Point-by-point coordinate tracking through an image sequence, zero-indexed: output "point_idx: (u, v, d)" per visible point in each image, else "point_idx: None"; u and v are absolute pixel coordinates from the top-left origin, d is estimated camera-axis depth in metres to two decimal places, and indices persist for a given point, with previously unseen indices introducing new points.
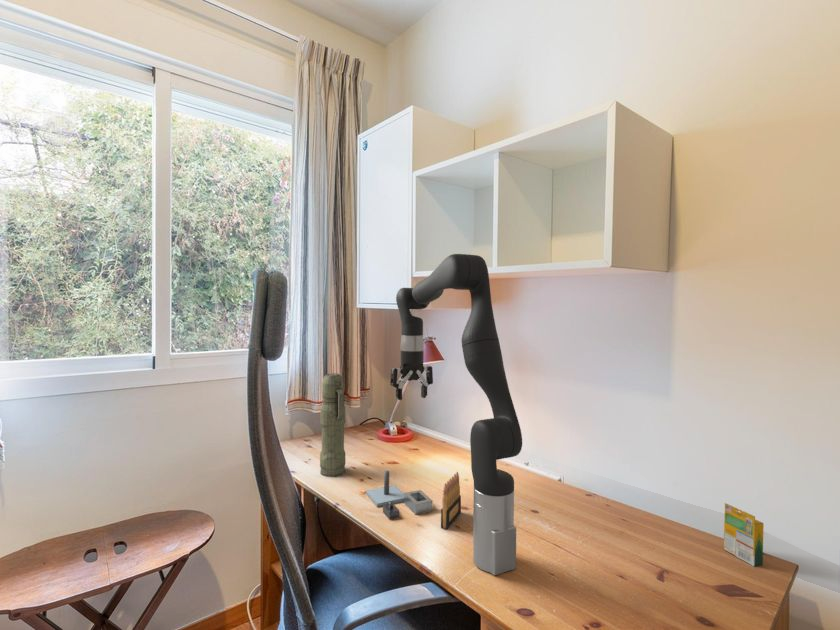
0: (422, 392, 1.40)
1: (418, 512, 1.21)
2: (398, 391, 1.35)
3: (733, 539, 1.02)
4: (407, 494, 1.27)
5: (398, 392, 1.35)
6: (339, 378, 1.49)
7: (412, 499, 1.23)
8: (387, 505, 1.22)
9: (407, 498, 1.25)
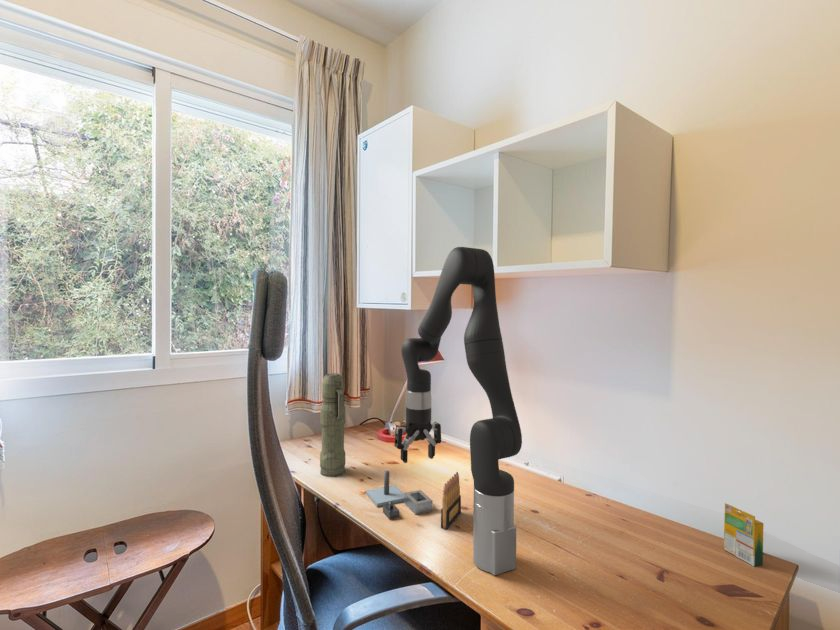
0: (429, 452, 1.27)
1: (418, 512, 1.21)
2: (403, 453, 1.22)
3: (733, 539, 1.02)
4: (407, 494, 1.27)
5: (403, 454, 1.22)
6: (339, 378, 1.49)
7: (412, 499, 1.23)
8: (387, 505, 1.22)
9: (407, 498, 1.25)
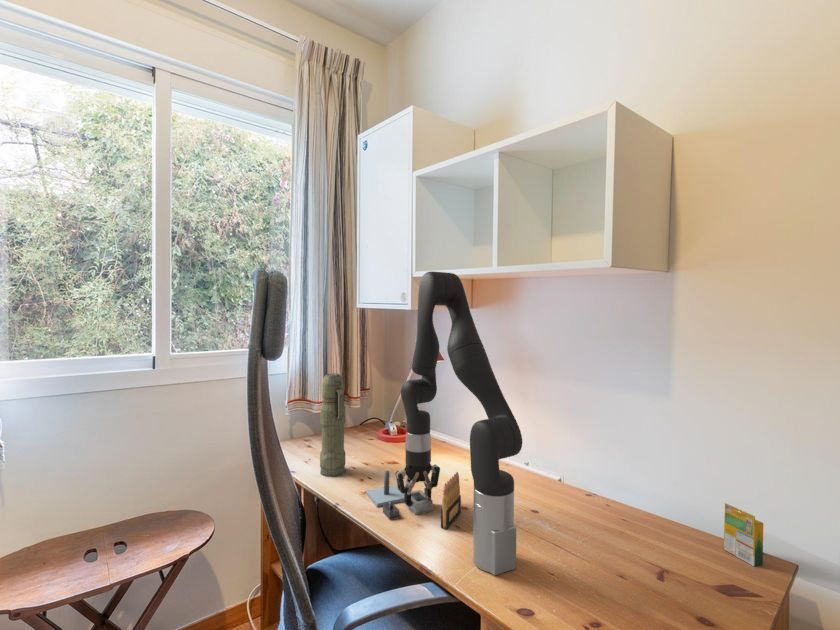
0: None
1: (418, 512, 1.21)
2: (407, 497, 1.23)
3: (733, 539, 1.02)
4: None
5: (407, 498, 1.23)
6: (339, 378, 1.49)
7: (412, 499, 1.23)
8: (387, 505, 1.22)
9: None
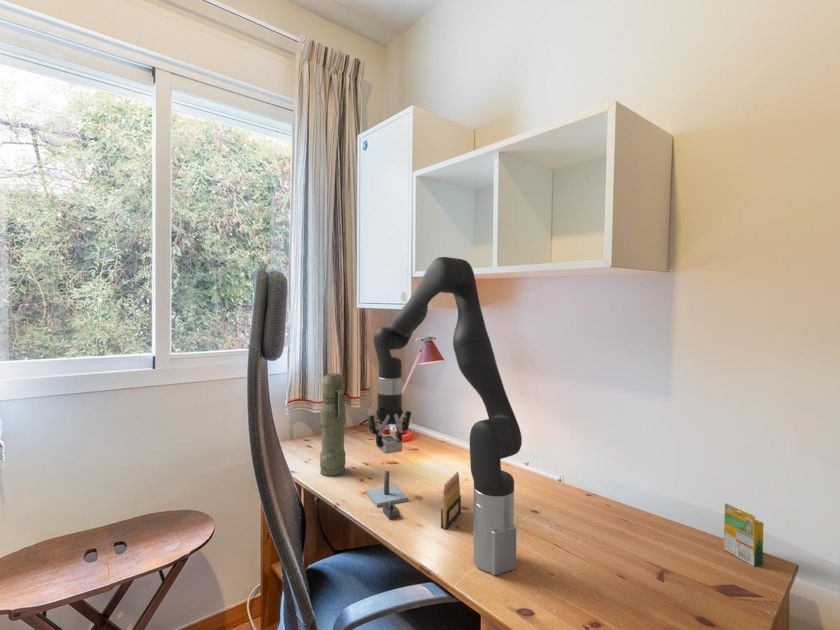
0: None
1: (387, 451, 1.27)
2: (378, 438, 1.29)
3: (733, 539, 1.02)
4: None
5: (378, 439, 1.29)
6: (339, 378, 1.49)
7: (383, 440, 1.30)
8: (387, 505, 1.22)
9: None
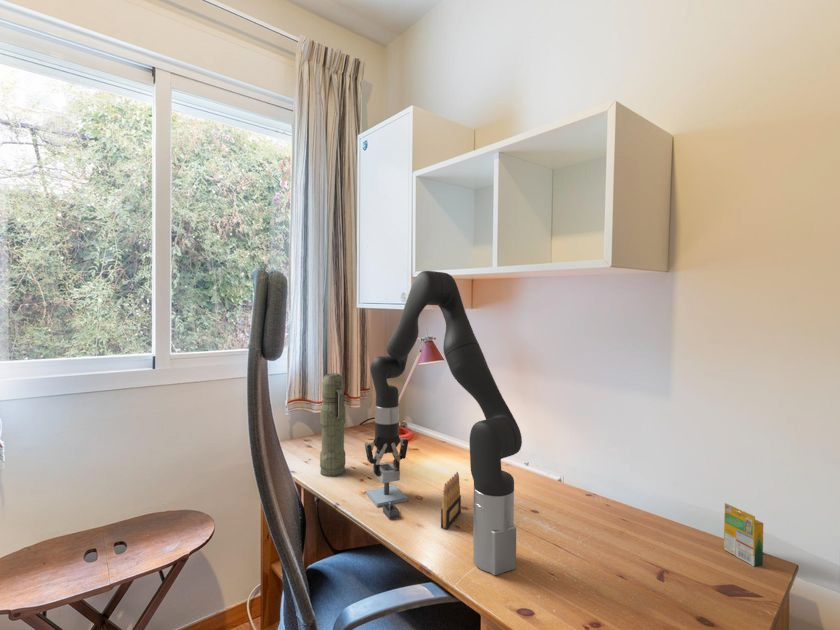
0: None
1: (385, 481, 1.27)
2: (375, 467, 1.29)
3: (733, 539, 1.02)
4: None
5: (375, 468, 1.29)
6: (339, 378, 1.49)
7: (380, 469, 1.30)
8: (387, 505, 1.22)
9: None
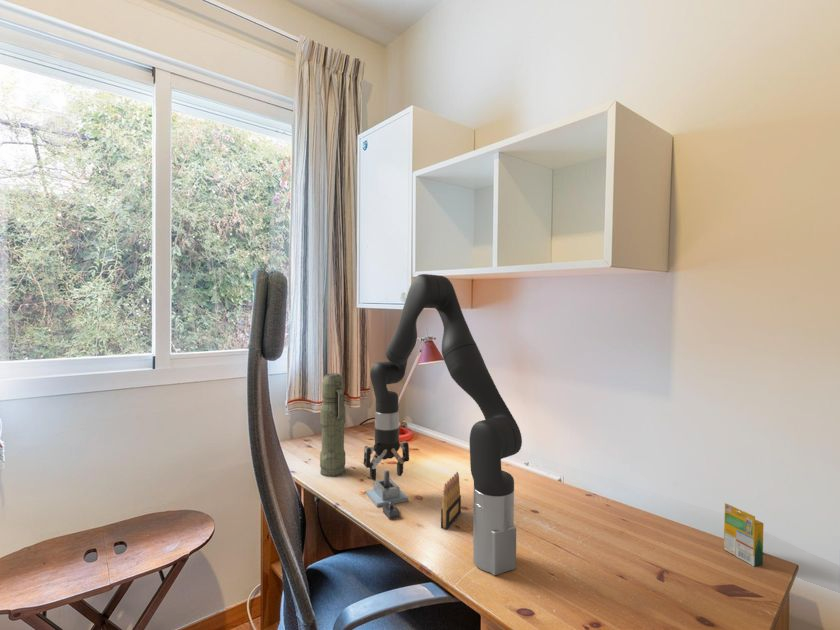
0: (398, 470, 1.33)
1: (385, 498, 1.27)
2: (372, 471, 1.29)
3: (733, 539, 1.02)
4: (376, 482, 1.33)
5: (372, 472, 1.29)
6: (339, 378, 1.49)
7: (380, 486, 1.30)
8: (387, 505, 1.22)
9: (376, 485, 1.32)
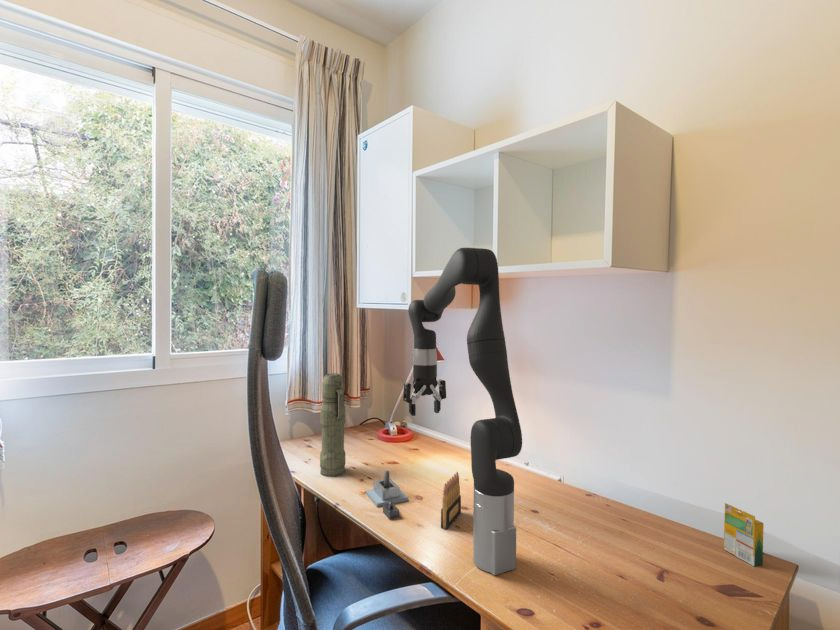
0: (435, 407, 1.36)
1: (385, 498, 1.27)
2: (411, 407, 1.31)
3: (733, 539, 1.02)
4: (376, 482, 1.33)
5: (411, 408, 1.31)
6: (339, 378, 1.49)
7: (380, 486, 1.30)
8: (387, 505, 1.22)
9: (376, 485, 1.32)
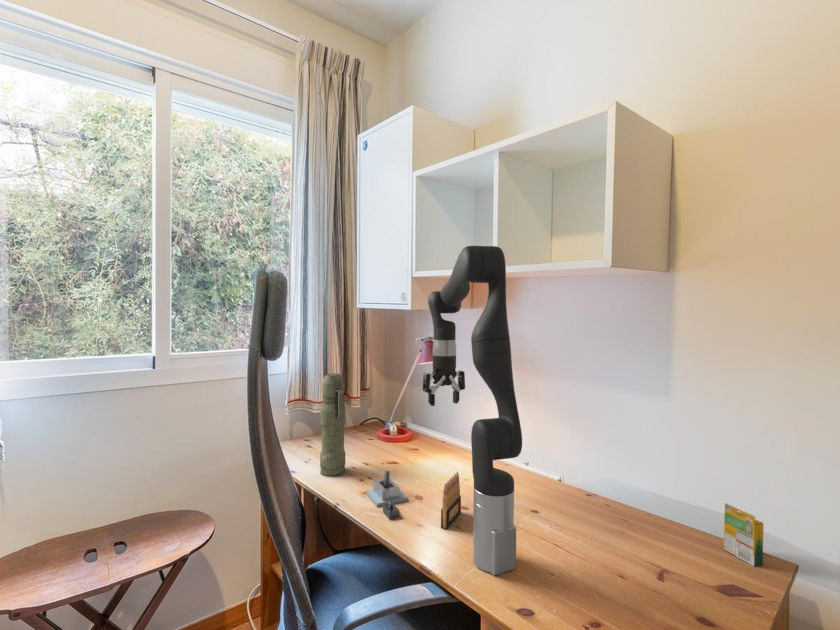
0: (454, 397, 1.37)
1: (385, 498, 1.27)
2: (431, 397, 1.33)
3: (733, 539, 1.02)
4: (376, 482, 1.33)
5: (431, 398, 1.33)
6: (339, 378, 1.49)
7: (380, 486, 1.30)
8: (387, 505, 1.22)
9: (376, 485, 1.32)
